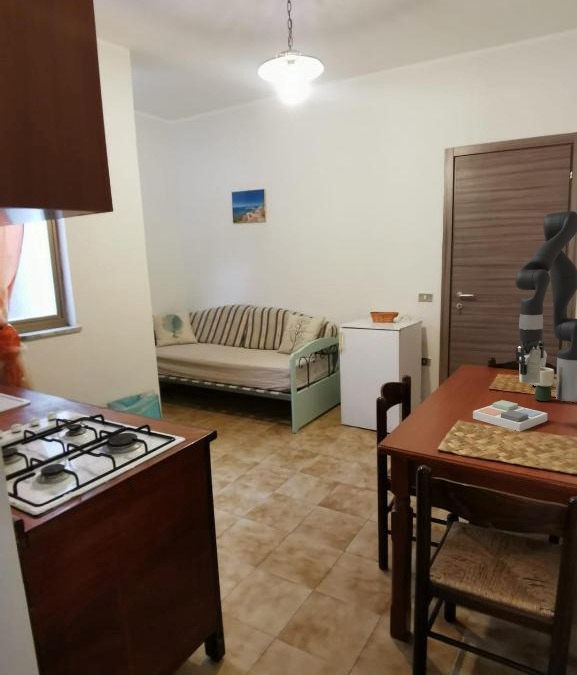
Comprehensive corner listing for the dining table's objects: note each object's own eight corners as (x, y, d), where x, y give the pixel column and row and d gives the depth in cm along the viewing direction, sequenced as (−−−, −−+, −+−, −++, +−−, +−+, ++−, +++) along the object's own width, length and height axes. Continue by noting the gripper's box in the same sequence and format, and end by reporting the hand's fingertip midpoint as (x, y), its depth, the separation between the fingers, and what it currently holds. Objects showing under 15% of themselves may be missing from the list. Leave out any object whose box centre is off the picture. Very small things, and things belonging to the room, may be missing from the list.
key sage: (502, 404, 185) (502, 400, 184) (517, 408, 179) (518, 403, 179) (492, 407, 182) (492, 403, 181) (508, 411, 176) (508, 407, 176)
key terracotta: (488, 412, 180) (488, 407, 180) (504, 416, 175) (504, 411, 175) (478, 415, 177) (478, 411, 177) (494, 420, 172) (494, 415, 172)
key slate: (524, 413, 178) (524, 408, 177) (541, 417, 172) (541, 412, 172) (514, 416, 174) (514, 412, 174) (532, 421, 169) (532, 416, 169)
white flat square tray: (500, 409, 187) (500, 402, 187) (547, 420, 172) (547, 413, 171) (472, 418, 178) (473, 411, 177) (519, 431, 163) (519, 423, 162)
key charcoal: (510, 414, 173) (510, 410, 172) (528, 419, 167) (528, 414, 167) (500, 418, 170) (500, 413, 169) (518, 423, 164) (518, 418, 164)
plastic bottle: (525, 386, 217) (527, 342, 214) (537, 384, 219) (539, 341, 215) (537, 389, 211) (538, 345, 207) (549, 387, 213) (551, 343, 209)
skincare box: (537, 380, 173) (538, 347, 171) (540, 383, 169) (541, 349, 167) (518, 380, 175) (519, 347, 173) (520, 383, 170) (521, 349, 168)
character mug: (558, 399, 196) (560, 368, 193) (557, 404, 190) (558, 372, 188) (529, 396, 201) (530, 366, 199) (526, 400, 196) (527, 369, 194)
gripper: (532, 323, 175) (530, 367, 178) (508, 328, 168) (507, 374, 170) (552, 325, 169) (550, 371, 172) (529, 330, 161) (528, 378, 164)
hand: (529, 372), depth 171 cm, fingers closed on skincare box, 7 cm apart
